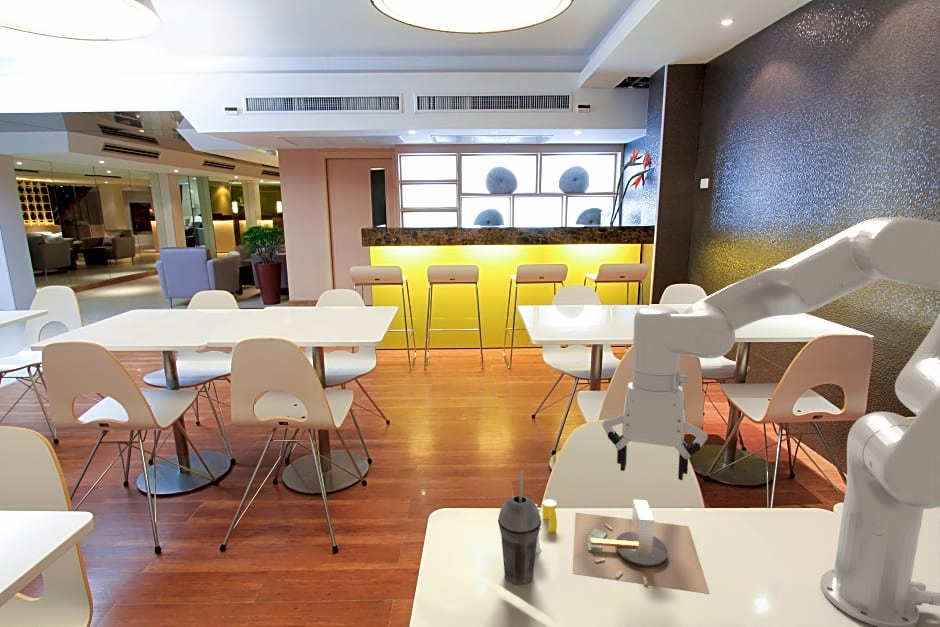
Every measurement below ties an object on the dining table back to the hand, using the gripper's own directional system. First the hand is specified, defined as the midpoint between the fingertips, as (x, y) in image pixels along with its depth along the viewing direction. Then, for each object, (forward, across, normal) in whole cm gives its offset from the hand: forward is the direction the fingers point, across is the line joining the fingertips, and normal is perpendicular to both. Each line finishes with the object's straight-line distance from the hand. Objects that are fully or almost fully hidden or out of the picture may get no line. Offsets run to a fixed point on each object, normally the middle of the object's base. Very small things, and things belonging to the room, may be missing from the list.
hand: (651, 471), depth 91 cm
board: (+17, +2, 0) cm, 17 cm away
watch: (+17, +19, -2) cm, 25 cm away
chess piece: (+17, +20, +7) cm, 27 cm away
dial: (+15, +3, +1) cm, 16 cm away
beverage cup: (+17, +20, +15) cm, 30 cm away
